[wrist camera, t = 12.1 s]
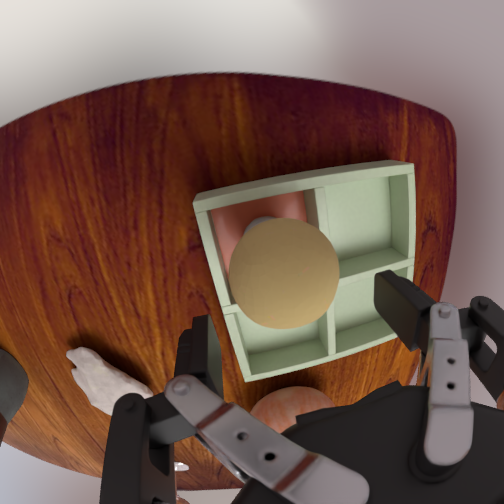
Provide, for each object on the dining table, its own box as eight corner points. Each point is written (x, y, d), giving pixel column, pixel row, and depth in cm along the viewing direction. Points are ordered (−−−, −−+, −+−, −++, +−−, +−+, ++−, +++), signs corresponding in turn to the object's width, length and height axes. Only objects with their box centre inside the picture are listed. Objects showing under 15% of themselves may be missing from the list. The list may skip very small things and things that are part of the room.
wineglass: (163, 456, 35) (160, 514, 24) (199, 465, 37) (201, 520, 26) (153, 467, 37) (149, 518, 26) (186, 475, 39) (186, 525, 28)
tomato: (239, 423, 32) (244, 471, 25) (249, 372, 29) (258, 430, 21) (313, 419, 34) (327, 462, 27) (337, 369, 30) (361, 418, 23)
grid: (196, 193, 21) (192, 202, 18) (390, 159, 22) (413, 163, 19) (241, 358, 28) (245, 382, 24) (390, 316, 28) (405, 333, 25)
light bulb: (227, 275, 23) (234, 356, 14) (223, 199, 21) (227, 241, 12) (301, 269, 24) (347, 342, 15) (304, 196, 21) (365, 234, 12)
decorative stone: (56, 333, 25) (105, 405, 31) (41, 355, 21) (98, 425, 28) (133, 342, 24) (172, 417, 31) (120, 371, 21) (167, 440, 28)
